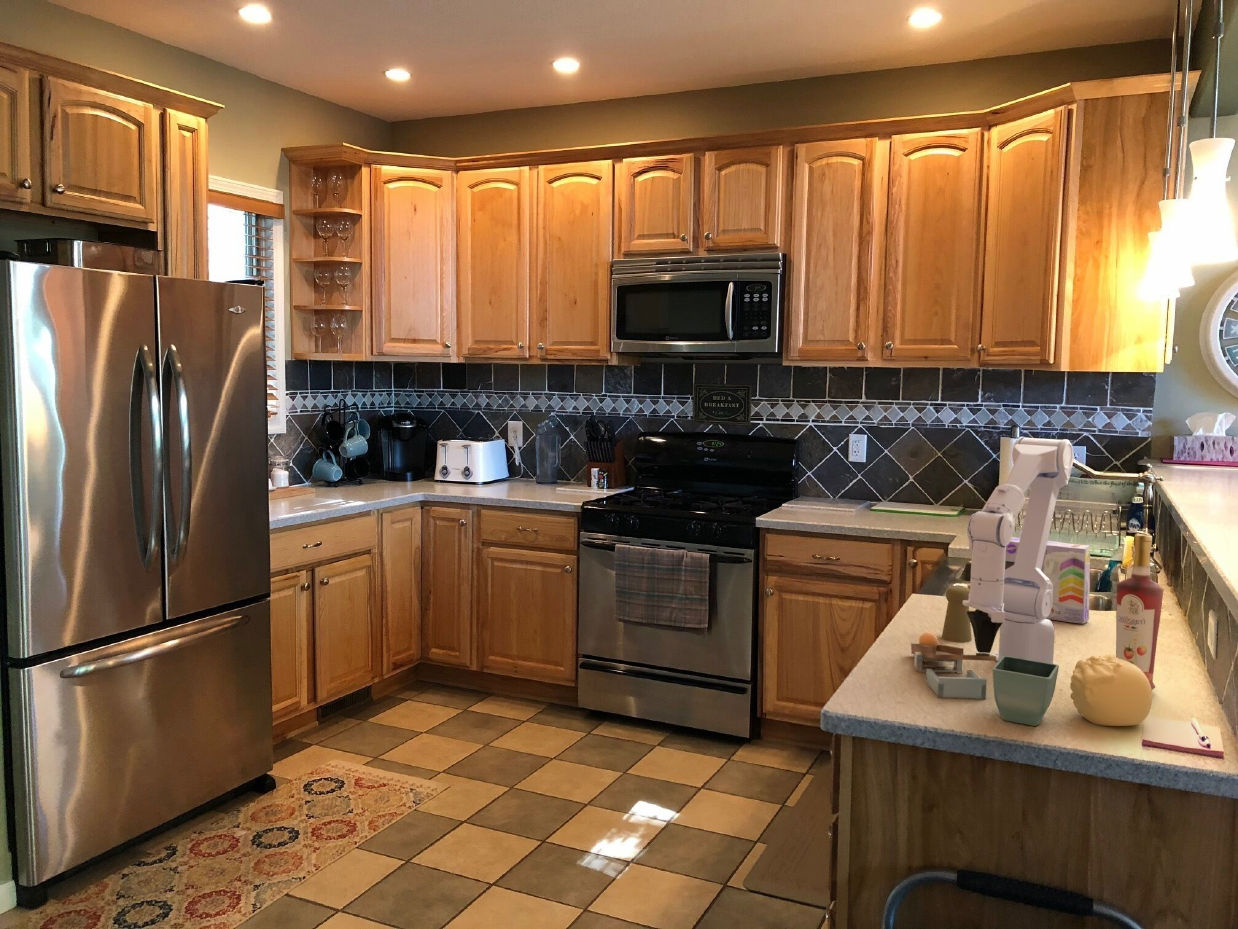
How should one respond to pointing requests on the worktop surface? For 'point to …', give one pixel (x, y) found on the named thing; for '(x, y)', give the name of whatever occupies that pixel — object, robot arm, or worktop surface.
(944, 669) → the fulcrum
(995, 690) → the flower pot
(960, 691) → the dish
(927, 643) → the ball
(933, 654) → the lever
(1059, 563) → the cake pan box
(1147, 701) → the sculpture
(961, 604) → the olive green pepper shaker
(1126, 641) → the liquor
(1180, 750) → the worktop surface
